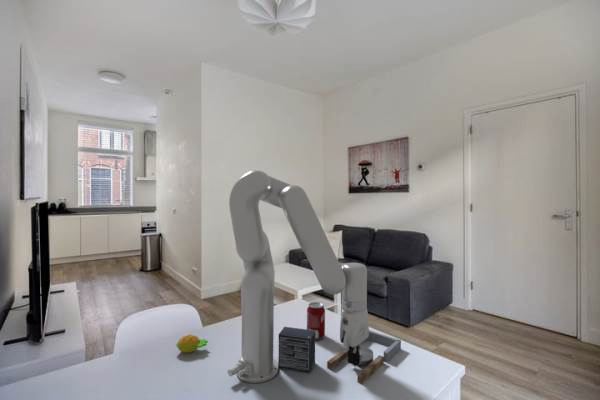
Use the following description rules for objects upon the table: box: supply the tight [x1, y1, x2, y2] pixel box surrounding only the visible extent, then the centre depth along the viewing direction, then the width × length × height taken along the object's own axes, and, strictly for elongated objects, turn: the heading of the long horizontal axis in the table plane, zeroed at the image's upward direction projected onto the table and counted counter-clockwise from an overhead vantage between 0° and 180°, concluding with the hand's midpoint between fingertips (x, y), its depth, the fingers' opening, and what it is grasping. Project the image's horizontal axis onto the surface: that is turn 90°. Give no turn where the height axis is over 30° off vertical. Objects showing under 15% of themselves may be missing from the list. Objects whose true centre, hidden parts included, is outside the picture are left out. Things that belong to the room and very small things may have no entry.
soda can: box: [306, 301, 326, 341], centre depth 112 cm, size 7×7×12 cm
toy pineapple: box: [175, 334, 209, 354], centre depth 101 cm, size 7×10×5 cm
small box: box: [278, 326, 316, 374], centre depth 93 cm, size 11×6×10 cm, turn 74°
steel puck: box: [356, 346, 374, 368], centre depth 96 cm, size 7×7×3 cm
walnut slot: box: [326, 349, 385, 385], centre depth 93 cm, size 14×12×2 cm
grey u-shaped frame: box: [361, 329, 402, 363], centre depth 104 cm, size 11×13×3 cm
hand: (353, 363), depth 92 cm, fingers closed
